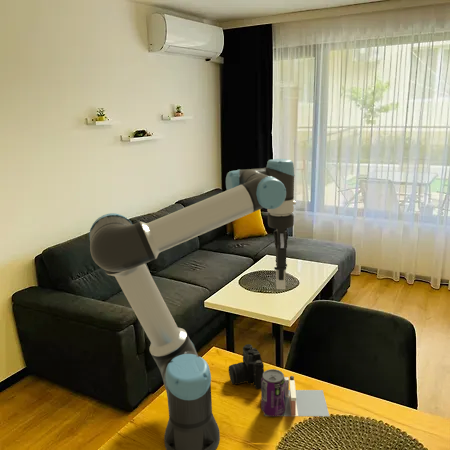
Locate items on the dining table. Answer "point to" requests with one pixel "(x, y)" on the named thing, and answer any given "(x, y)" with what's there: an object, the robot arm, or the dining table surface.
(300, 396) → the mat
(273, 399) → the beverage can
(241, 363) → the camera
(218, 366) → the dining table surface
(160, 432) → the dining table surface
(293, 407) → the cream pink flat block
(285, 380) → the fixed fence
